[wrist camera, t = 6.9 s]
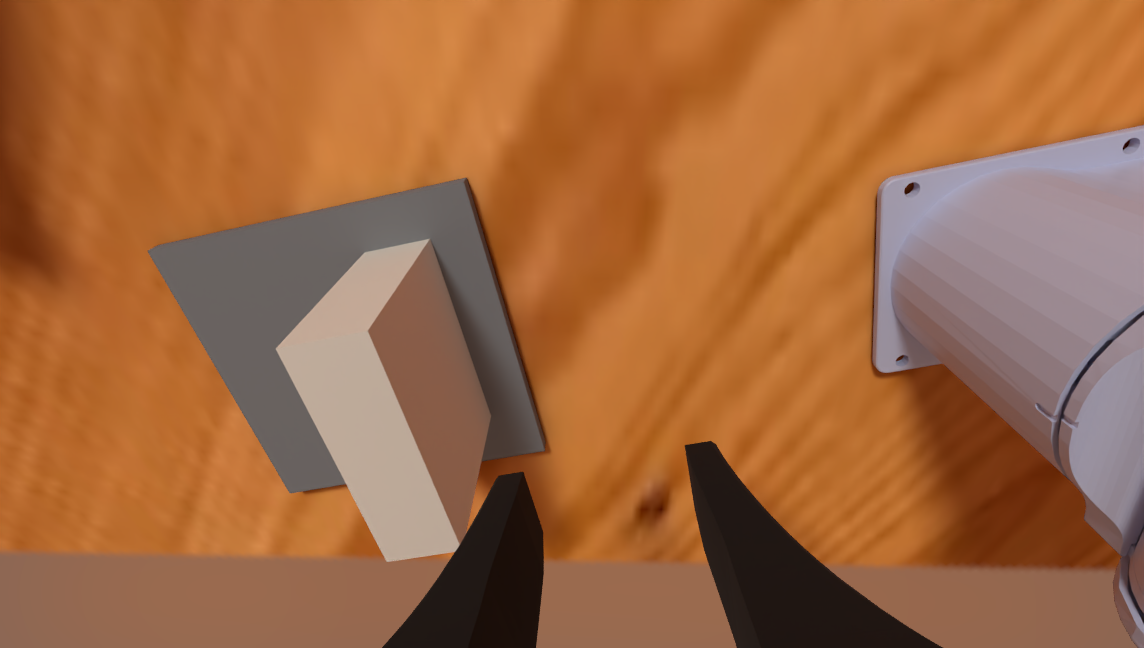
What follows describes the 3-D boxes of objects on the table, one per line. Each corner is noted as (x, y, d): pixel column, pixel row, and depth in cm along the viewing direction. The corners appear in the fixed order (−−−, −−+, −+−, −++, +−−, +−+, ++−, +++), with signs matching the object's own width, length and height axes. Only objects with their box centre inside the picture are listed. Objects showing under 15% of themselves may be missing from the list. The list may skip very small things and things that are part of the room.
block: (430, 238, 21) (367, 330, 14) (491, 416, 24) (462, 550, 18) (364, 252, 21) (275, 349, 15) (434, 425, 24) (386, 561, 18)
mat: (466, 177, 20) (463, 181, 20) (545, 441, 26) (544, 450, 25) (158, 245, 21) (147, 250, 21) (295, 483, 27) (289, 493, 26)
